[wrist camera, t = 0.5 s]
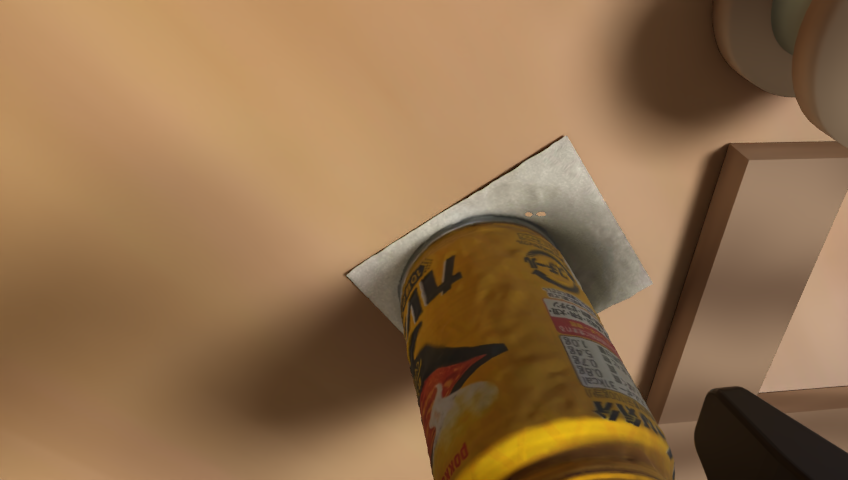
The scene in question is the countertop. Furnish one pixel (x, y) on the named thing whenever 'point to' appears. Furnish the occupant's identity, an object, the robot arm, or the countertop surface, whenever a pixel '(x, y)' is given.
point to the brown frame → (751, 290)
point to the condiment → (521, 331)
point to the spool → (791, 53)
